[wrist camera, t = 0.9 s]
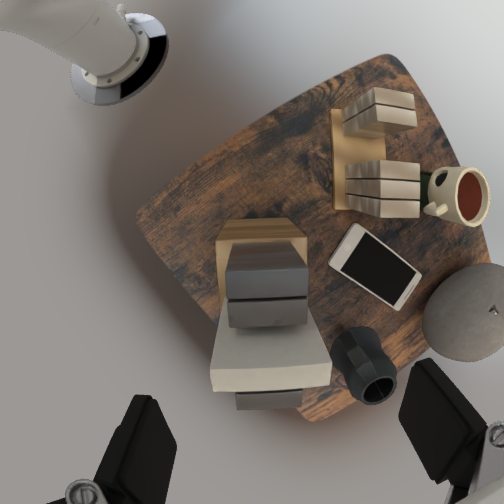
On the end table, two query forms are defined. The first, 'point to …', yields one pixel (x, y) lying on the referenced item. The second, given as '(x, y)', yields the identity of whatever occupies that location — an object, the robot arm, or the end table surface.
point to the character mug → (455, 194)
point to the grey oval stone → (467, 314)
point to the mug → (364, 365)
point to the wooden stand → (263, 287)
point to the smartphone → (374, 267)
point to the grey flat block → (268, 357)
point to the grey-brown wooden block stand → (373, 156)
